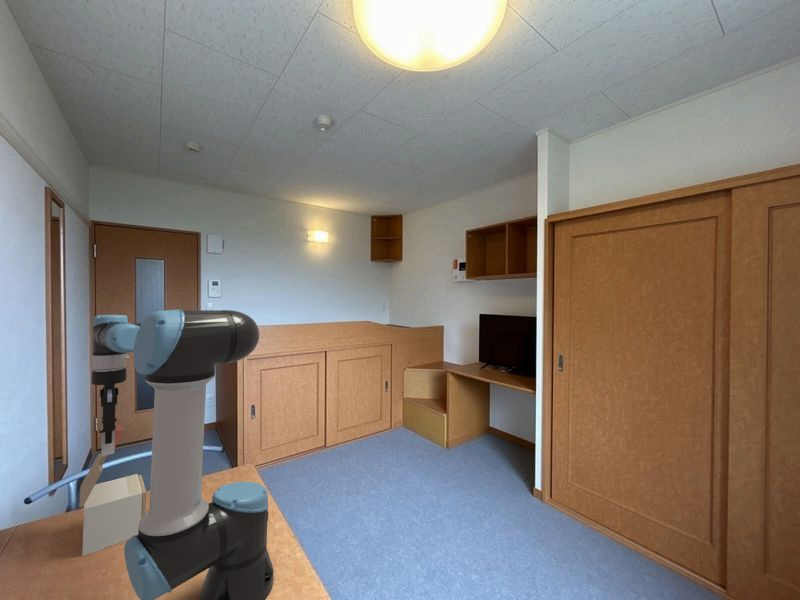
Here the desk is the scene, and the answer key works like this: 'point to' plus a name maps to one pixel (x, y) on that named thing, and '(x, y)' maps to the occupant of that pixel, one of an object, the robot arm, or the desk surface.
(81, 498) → the flap
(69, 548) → the desk surface
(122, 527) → the carton
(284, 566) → the desk surface
